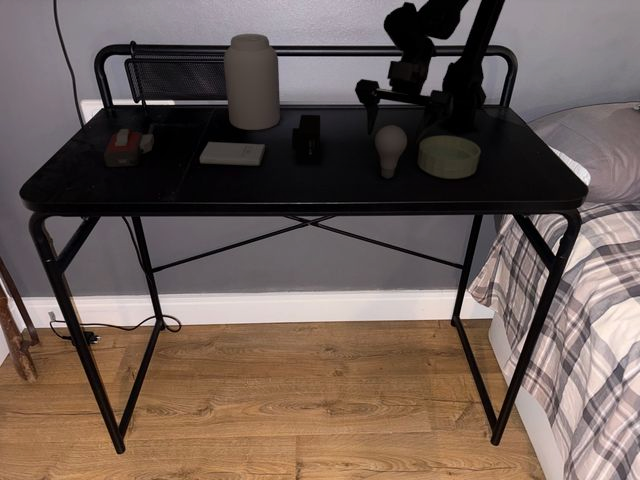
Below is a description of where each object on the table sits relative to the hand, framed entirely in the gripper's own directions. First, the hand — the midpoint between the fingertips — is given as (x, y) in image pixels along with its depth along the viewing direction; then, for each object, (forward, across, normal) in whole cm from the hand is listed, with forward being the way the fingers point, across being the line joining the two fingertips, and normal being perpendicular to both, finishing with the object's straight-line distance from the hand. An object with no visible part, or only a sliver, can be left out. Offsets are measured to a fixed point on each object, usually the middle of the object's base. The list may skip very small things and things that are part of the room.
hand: (391, 138), depth 97 cm
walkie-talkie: (+14, -55, -2) cm, 57 cm away
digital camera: (+4, -19, +8) cm, 21 cm away
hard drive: (+10, -33, +2) cm, 34 cm away
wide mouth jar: (-4, -39, +16) cm, 42 cm away
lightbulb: (+6, 0, +6) cm, 9 cm away
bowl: (-1, +10, +13) cm, 16 cm away
